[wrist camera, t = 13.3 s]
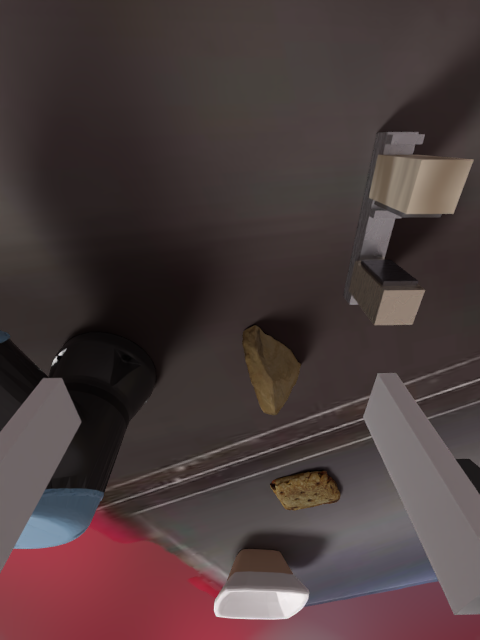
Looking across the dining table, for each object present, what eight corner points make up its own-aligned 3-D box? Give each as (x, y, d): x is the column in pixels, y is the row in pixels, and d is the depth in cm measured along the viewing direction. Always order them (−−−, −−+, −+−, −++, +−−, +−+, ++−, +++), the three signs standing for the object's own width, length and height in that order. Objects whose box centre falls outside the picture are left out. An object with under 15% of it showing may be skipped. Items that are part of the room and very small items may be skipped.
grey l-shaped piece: (368, 295, 40) (406, 340, 31) (339, 295, 40) (369, 340, 31) (410, 132, 30) (484, 129, 21) (372, 132, 30) (430, 129, 21)
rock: (221, 336, 41) (234, 392, 45) (261, 356, 34) (272, 420, 38) (277, 308, 46) (284, 361, 50) (321, 321, 39) (325, 381, 43)
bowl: (222, 537, 79) (220, 588, 70) (308, 542, 82) (317, 592, 73) (211, 571, 92) (209, 618, 83) (286, 574, 94) (292, 620, 85)
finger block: (367, 202, 31) (404, 220, 25) (377, 154, 29) (422, 159, 22) (404, 202, 31) (451, 219, 25) (417, 154, 29) (473, 159, 22)
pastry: (287, 459, 61) (289, 472, 59) (357, 474, 65) (362, 487, 62) (256, 499, 70) (256, 513, 67) (319, 510, 73) (322, 524, 71)
